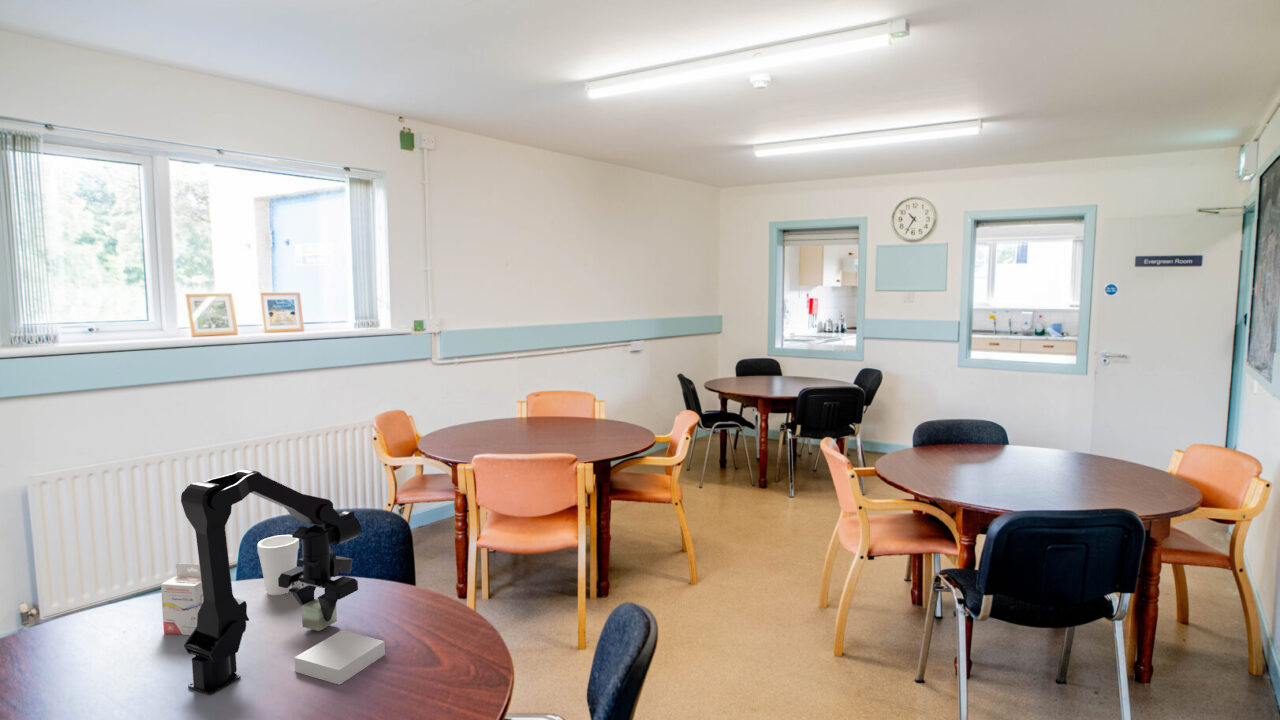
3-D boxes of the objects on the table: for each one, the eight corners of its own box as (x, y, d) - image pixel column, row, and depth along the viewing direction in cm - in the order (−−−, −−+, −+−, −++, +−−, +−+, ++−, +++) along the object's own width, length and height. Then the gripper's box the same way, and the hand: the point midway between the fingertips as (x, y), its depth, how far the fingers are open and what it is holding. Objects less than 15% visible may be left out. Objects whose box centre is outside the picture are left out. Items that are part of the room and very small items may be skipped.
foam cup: (288, 598, 168) (286, 548, 167) (252, 598, 168) (249, 547, 167) (308, 582, 177) (305, 534, 176) (273, 582, 178) (271, 534, 176)
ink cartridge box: (162, 634, 150) (158, 571, 149) (179, 623, 155) (175, 562, 154) (197, 636, 149) (193, 572, 148) (214, 625, 154) (210, 563, 153)
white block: (339, 684, 130) (338, 670, 130) (295, 671, 135) (294, 657, 135) (384, 654, 141) (384, 641, 141) (342, 643, 146) (341, 630, 146)
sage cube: (318, 631, 149) (317, 609, 149) (302, 626, 151) (301, 605, 151) (336, 621, 154) (335, 600, 154) (320, 617, 156) (319, 596, 155)
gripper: (375, 546, 155) (377, 610, 156) (315, 535, 162) (318, 597, 164) (336, 563, 145) (339, 632, 146) (275, 550, 152) (278, 617, 153)
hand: (319, 618), depth 153 cm, fingers closed on sage cube, 5 cm apart
